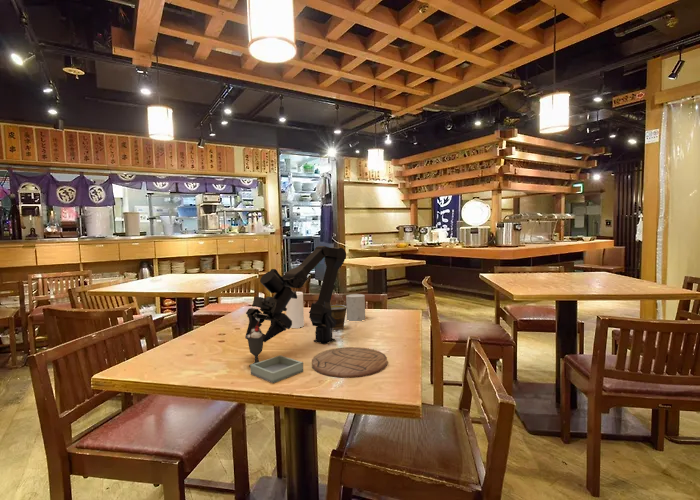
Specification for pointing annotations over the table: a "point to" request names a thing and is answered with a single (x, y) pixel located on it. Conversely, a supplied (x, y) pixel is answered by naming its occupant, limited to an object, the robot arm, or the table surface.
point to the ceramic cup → (338, 316)
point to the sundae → (255, 342)
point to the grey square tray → (276, 368)
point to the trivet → (349, 362)
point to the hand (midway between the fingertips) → (254, 339)
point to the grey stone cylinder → (355, 307)
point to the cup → (296, 311)
